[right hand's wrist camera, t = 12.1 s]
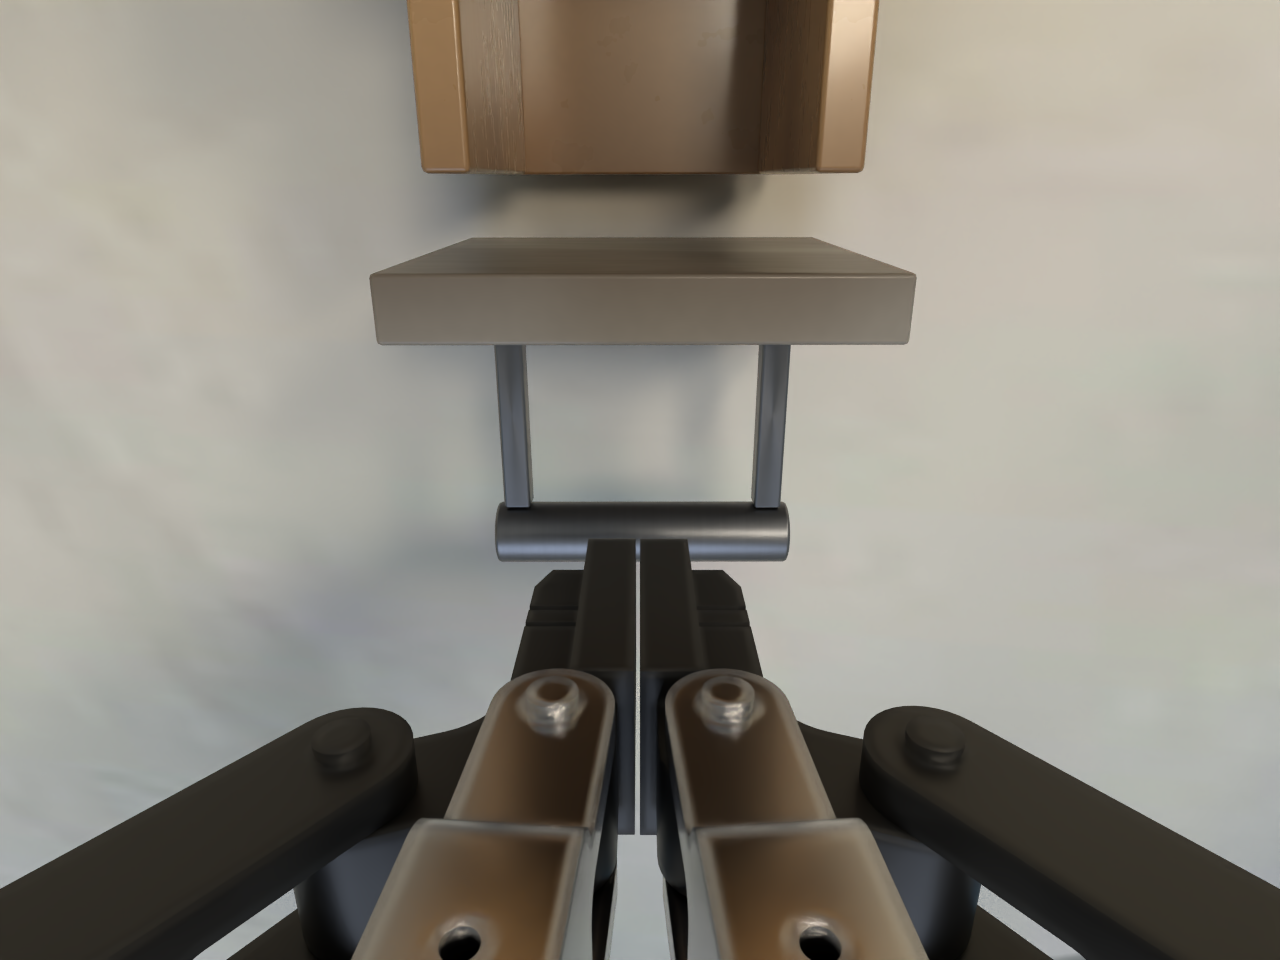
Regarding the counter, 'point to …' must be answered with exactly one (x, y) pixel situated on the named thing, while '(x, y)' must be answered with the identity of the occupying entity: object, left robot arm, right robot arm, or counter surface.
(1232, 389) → the counter surface
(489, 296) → the drawer
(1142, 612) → the counter surface
